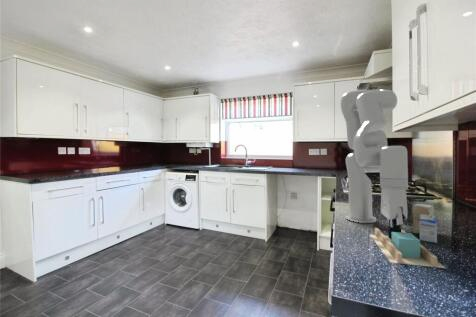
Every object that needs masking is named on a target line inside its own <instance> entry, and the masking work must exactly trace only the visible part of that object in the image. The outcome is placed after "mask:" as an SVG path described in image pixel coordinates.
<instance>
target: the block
mask: <svg viewBox="0 0 476 317" xmlns="http://www.w3.org/2000/svg"><path fill="white" fill-rule="evenodd" d="M391 234H392V241H391V243H392V244H393V245H394V246H395V247H396V248H397V249H398V250H399V251H400V252H401V253H402V257H411V258H420V244H421V240H420V238H418V237H416V236H415V235H414V234H413V233H411V232H406V233H401V232H391Z"/></svg>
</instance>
